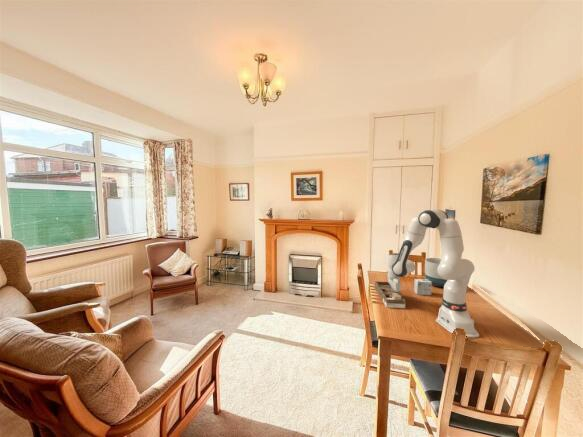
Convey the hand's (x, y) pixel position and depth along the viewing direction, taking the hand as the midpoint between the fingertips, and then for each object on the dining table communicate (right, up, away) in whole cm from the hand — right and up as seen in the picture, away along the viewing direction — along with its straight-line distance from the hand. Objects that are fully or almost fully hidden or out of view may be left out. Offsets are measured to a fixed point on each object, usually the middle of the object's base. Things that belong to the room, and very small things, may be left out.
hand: (393, 292), depth 174 cm
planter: (+50, -2, +27) cm, 56 cm away
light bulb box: (+27, -4, +10) cm, 30 cm away
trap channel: (-2, -5, +4) cm, 7 cm away
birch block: (-1, -3, -8) cm, 9 cm away
